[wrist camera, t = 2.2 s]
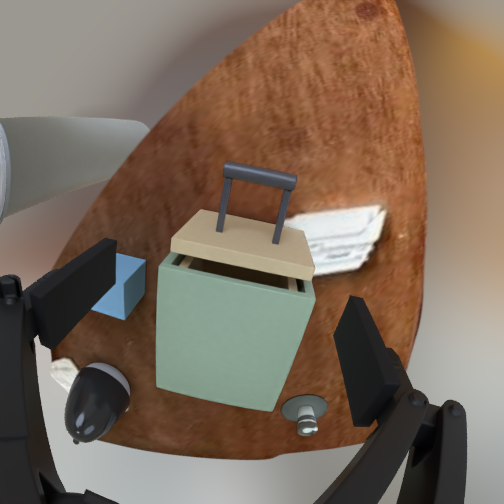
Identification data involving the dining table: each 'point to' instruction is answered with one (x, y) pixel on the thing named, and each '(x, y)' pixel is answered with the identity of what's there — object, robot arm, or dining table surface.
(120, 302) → the blue cuboid
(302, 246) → the drawer
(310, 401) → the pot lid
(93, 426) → the black bell
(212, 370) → the cabinet
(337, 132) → the dining table surface
